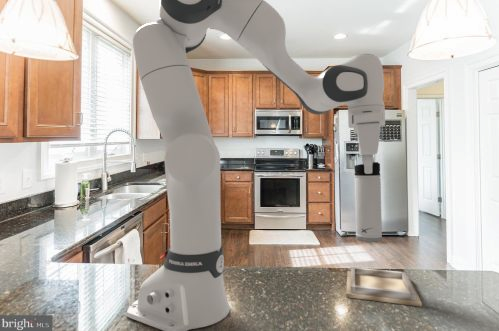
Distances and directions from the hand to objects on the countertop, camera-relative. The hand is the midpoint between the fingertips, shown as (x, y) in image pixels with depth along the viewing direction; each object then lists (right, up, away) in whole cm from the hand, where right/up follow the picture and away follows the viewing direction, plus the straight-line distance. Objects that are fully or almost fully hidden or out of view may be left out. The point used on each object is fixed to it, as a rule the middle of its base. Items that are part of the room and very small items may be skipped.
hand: (367, 173), depth 77 cm
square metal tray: (+3, -30, -1) cm, 30 cm away
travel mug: (0, -17, 0) cm, 17 cm away
